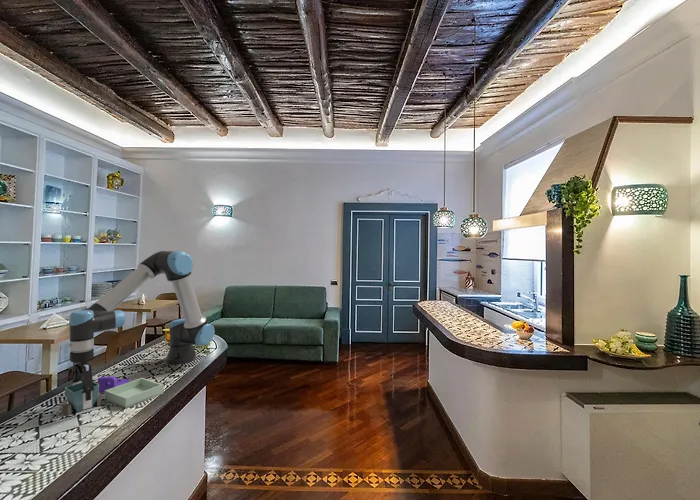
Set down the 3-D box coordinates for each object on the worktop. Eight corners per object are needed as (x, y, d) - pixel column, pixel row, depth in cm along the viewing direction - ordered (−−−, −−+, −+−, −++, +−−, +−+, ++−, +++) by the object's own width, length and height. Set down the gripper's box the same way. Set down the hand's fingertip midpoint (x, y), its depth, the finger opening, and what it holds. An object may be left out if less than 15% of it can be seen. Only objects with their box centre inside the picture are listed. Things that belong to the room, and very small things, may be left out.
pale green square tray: (142, 386, 157) (142, 377, 157) (163, 393, 149) (163, 384, 149) (104, 399, 143) (104, 390, 143) (126, 408, 136) (126, 398, 136)
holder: (98, 399, 143) (97, 390, 143) (103, 404, 139) (103, 395, 139) (59, 411, 133) (59, 401, 133) (64, 417, 129) (64, 406, 129)
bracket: (114, 393, 150) (114, 377, 150) (97, 394, 149) (97, 378, 149) (129, 382, 162) (129, 368, 162) (113, 382, 161) (113, 368, 161)
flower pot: (73, 415, 130) (73, 392, 130) (64, 409, 134) (64, 387, 134) (100, 406, 137) (99, 384, 137) (90, 401, 142) (90, 379, 142)
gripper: (61, 346, 140) (61, 397, 140) (79, 359, 125) (79, 416, 125) (83, 342, 146) (84, 391, 146) (103, 353, 131) (104, 408, 131)
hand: (82, 403), depth 136 cm, fingers open, 13 cm apart
